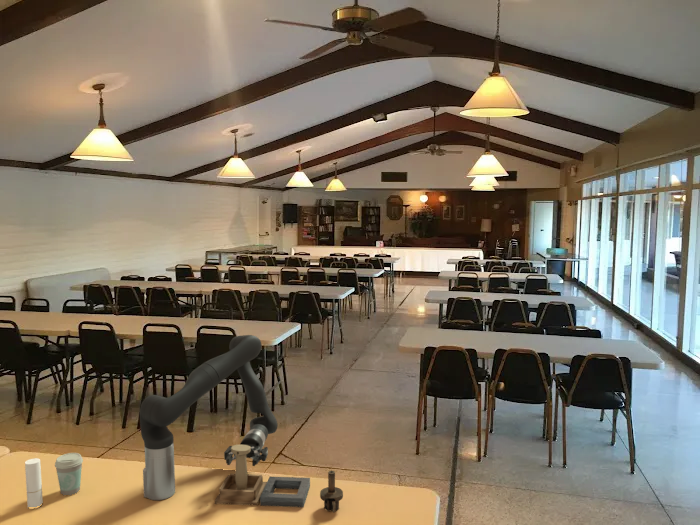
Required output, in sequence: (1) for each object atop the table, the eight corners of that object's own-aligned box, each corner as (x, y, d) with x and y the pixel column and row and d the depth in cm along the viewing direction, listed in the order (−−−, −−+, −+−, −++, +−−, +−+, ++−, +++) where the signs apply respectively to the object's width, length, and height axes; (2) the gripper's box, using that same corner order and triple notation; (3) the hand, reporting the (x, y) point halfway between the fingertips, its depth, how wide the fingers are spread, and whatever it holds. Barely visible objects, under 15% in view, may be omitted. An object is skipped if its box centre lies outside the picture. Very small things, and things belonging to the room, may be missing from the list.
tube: (45, 504, 189) (43, 459, 187) (34, 510, 185) (32, 465, 183) (35, 501, 190) (33, 457, 189) (24, 508, 186) (21, 463, 185)
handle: (247, 495, 192) (246, 451, 191) (229, 493, 194) (228, 449, 192) (253, 488, 197) (252, 445, 195) (236, 486, 198) (235, 443, 197)
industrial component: (340, 515, 182) (340, 478, 181) (317, 513, 183) (317, 476, 182) (345, 500, 191) (345, 465, 190) (324, 498, 192) (323, 463, 191)
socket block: (260, 505, 188) (260, 496, 187) (269, 484, 202) (269, 476, 201) (303, 507, 187) (303, 498, 186) (310, 486, 200) (310, 477, 200)
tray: (214, 503, 189) (214, 491, 188) (227, 483, 203) (227, 472, 202) (257, 505, 188) (257, 493, 187) (267, 484, 202) (266, 473, 201)
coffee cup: (50, 495, 195) (48, 460, 193) (71, 483, 203) (69, 450, 201) (69, 500, 191) (67, 464, 190) (90, 488, 199) (88, 454, 198)
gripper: (233, 432, 210) (219, 451, 194) (272, 433, 209) (261, 452, 193) (233, 452, 211) (220, 472, 195) (272, 453, 210) (262, 474, 194)
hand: (240, 462), depth 194 cm, fingers open, 8 cm apart
